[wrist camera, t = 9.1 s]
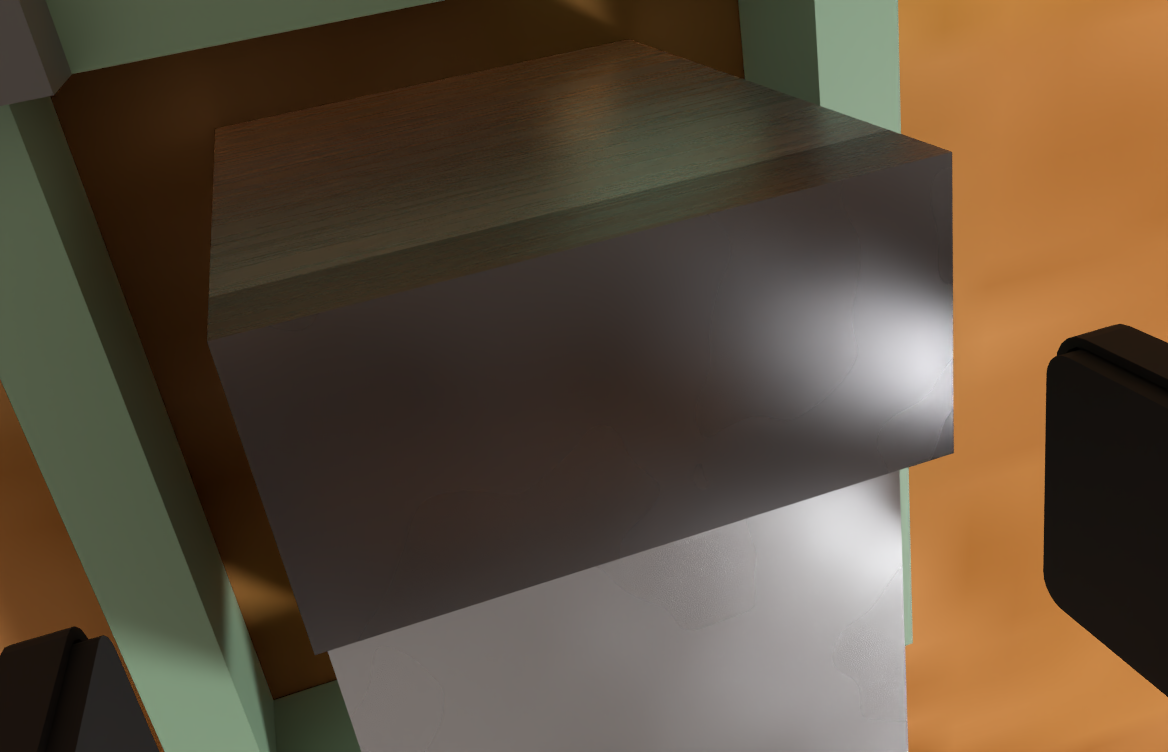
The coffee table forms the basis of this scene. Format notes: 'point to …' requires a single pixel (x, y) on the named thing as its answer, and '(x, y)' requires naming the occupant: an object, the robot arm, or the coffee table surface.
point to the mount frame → (125, 380)
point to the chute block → (590, 401)
